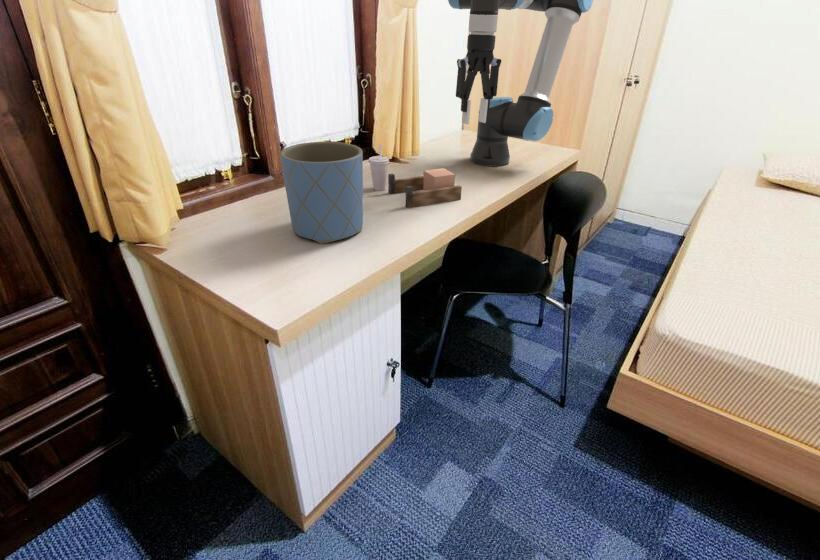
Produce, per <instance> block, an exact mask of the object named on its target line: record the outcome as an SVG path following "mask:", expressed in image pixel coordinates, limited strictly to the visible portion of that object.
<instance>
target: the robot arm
mask: <svg viewBox="0 0 820 560" xmlns="http://www.w3.org/2000/svg"><path fill="white" fill-rule="evenodd" d="M593 1H594V0H447V2H448V4H449V6H450V7H451V8H452V9H456V10H470V11H469V21H468V32H469V34H468V35H467V43H466V48H467V53H466V55H465V57H463V58H458V59H457V61H456V65H457V77H456V85H455V86H456V87H455V97H456V98H459V99H460V104H461V105H460V111H461V112H462V116H461V123H462V124H464V125H470V118H471V117H470V115H471V106H472V105H471V104H472V100H470V95H471V92H472V88H473V86H474V82H475V79H476V76H477V75H478V72H479V75H480V79H481V86H482V87H481V89H482V96H483V97H482V98H480V104H479V110H478V121H477V132H476V140H475V144H474V145H473V148H472V150H471V153H470V159H469V160H470V162H472V163H474V164H476V165H480V166H486V167H501V166H506V165H508V164H509V163H510V157H511V156H510V155H511V154H510V150H509V143H508V139H509V137H510V138H514V139H519V140H523V141H527V142H539V141H541V140H543V138H544V137H545V136H546V135H547V134H548V133H549V131H550V129H551V126H552V124H553V120H554V118H553V117H554V111H553V108H551V106H552V101H551V100H550V95H551V92H552V89H553V86H554V83H555V80H556V78H557V75H558V71H559V68H560V64H561V62H562V59H563V56H564V52H565V51H566V46H567V44H568V41H569V38H570V34H571V32H572V28H573V26H574V25H575V24H577V23H578V22H580V20H581V17H582V13H583V14H585V13H587V12H589V10H590V9H591V7H592V6H593ZM516 9H520V10H530V11H535V12H544V15H545V17H546V19H547V20H546V23H545V27H544V29H543V33H542V36H541V40H540V42H539V45H538V49H537V52H536V55H535V58H534V61H533V64H532V68H531V71H530V73H529V77H528V80H527V84H526V86H525V91H524V92H523V93H521V94H520V95H518V98H517V101H516V102H514V98H513V96H512V97H511V96H499V97H498V95H497V94H498V84H499V71H500V66H501V64H502V59H501V58H496V57H495V56H494V50H495V45H496V35H495V34H496V33H497V29H498V21H499V20H498V15H499V10H506V11H511V10H516ZM467 66H468V68H467Z"/></svg>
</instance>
